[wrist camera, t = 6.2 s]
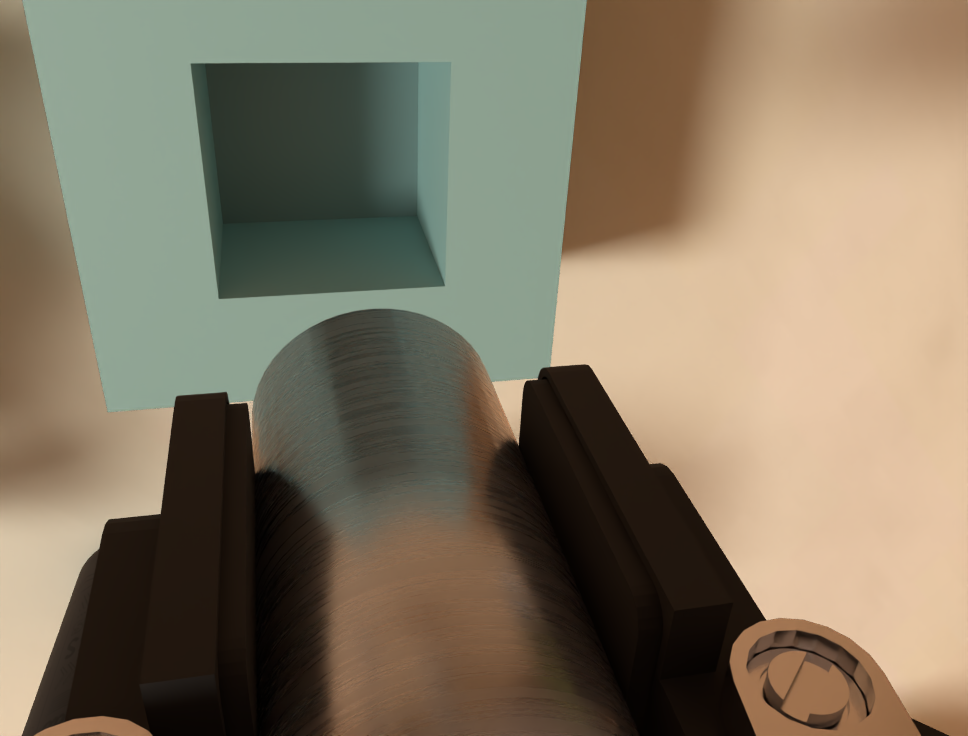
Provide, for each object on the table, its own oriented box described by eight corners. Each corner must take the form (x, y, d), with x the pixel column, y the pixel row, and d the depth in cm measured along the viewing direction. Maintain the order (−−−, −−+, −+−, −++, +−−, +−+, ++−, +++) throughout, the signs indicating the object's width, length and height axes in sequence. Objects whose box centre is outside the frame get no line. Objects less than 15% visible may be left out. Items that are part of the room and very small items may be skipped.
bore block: (63, -130, 20) (0, -103, 15) (515, -114, 22) (595, -86, 17) (135, 287, 25) (107, 412, 20) (493, 268, 27) (549, 377, 22)
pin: (241, 316, 11) (214, 1888, 3) (498, 300, 12) (1111, 1526, 3) (262, 520, 13) (287, 1880, 4) (486, 496, 13) (879, 1641, 5)
